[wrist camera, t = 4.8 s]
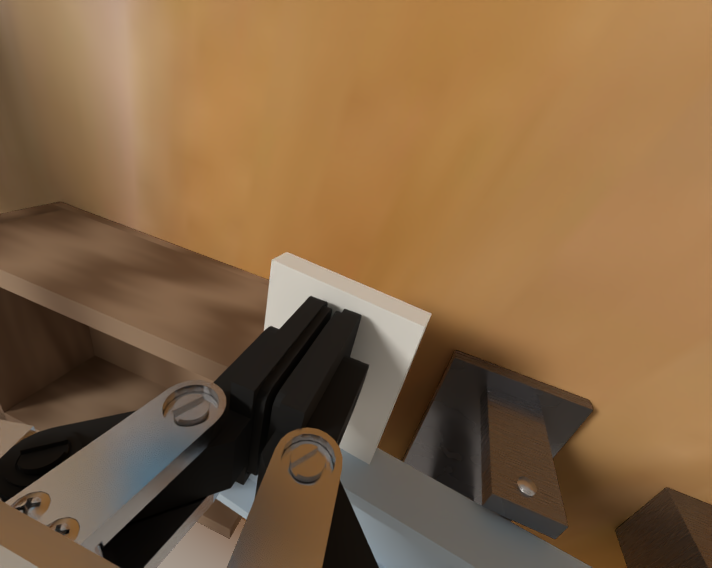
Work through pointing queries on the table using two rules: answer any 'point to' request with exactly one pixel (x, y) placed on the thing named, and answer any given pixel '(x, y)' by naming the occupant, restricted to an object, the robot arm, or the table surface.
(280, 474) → the robot arm
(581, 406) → the stand
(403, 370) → the lever
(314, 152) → the table surface
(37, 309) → the box
